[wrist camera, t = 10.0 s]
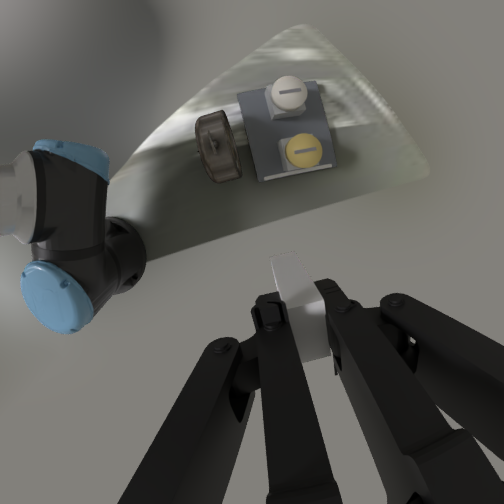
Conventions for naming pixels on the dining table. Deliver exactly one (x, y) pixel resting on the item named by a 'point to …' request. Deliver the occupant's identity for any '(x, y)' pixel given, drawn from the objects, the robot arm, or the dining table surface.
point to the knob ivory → (288, 93)
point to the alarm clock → (217, 147)
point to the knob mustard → (303, 151)
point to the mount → (283, 131)
